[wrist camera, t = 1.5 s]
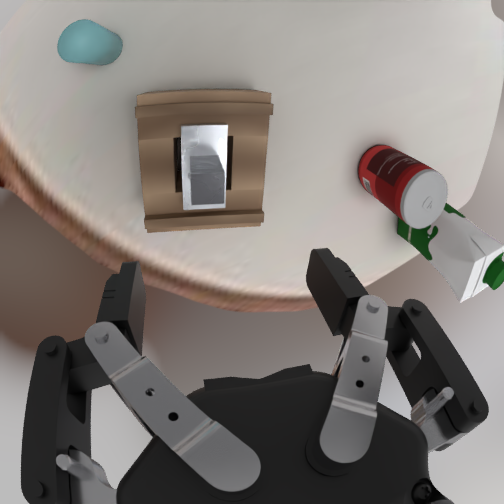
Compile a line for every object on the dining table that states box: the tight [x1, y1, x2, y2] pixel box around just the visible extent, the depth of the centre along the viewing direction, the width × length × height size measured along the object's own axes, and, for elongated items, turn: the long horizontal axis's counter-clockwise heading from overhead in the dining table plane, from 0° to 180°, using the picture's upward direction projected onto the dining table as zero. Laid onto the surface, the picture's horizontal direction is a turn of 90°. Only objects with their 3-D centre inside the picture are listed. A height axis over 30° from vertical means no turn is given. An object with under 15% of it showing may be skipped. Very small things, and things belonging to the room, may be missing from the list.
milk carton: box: [397, 203, 504, 303], centre depth 36 cm, size 9×9×20 cm
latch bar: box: [181, 123, 228, 210], centre depth 23 cm, size 8×4×6 cm, turn 176°
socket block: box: [135, 89, 273, 233], centre depth 28 cm, size 14×12×8 cm
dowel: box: [57, 19, 123, 65], centre depth 19 cm, size 4×4×9 cm
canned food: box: [358, 145, 448, 229], centre depth 33 cm, size 8×8×11 cm
